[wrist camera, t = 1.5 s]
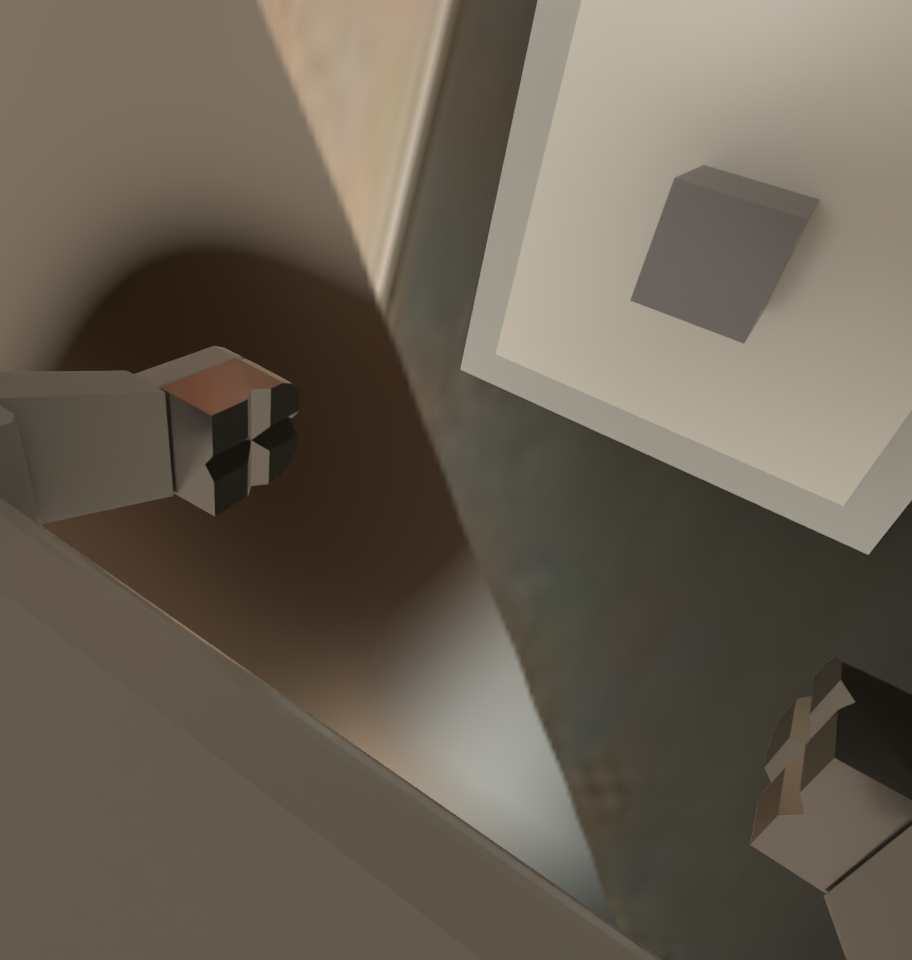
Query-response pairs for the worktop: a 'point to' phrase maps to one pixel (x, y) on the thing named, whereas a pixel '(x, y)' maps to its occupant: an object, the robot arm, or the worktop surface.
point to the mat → (859, 523)
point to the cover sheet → (758, 125)
